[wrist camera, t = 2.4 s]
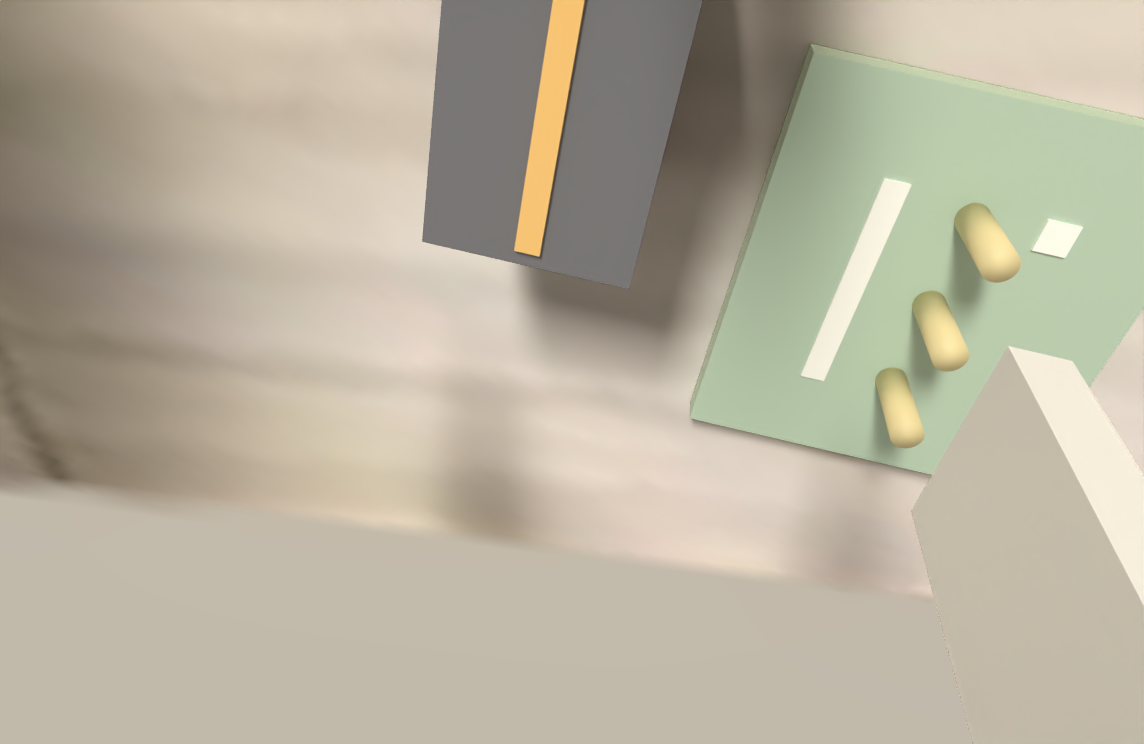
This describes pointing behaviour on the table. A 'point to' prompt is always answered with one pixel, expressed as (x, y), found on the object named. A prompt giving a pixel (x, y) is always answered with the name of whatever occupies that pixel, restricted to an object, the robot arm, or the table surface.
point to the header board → (921, 257)
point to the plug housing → (553, 128)
